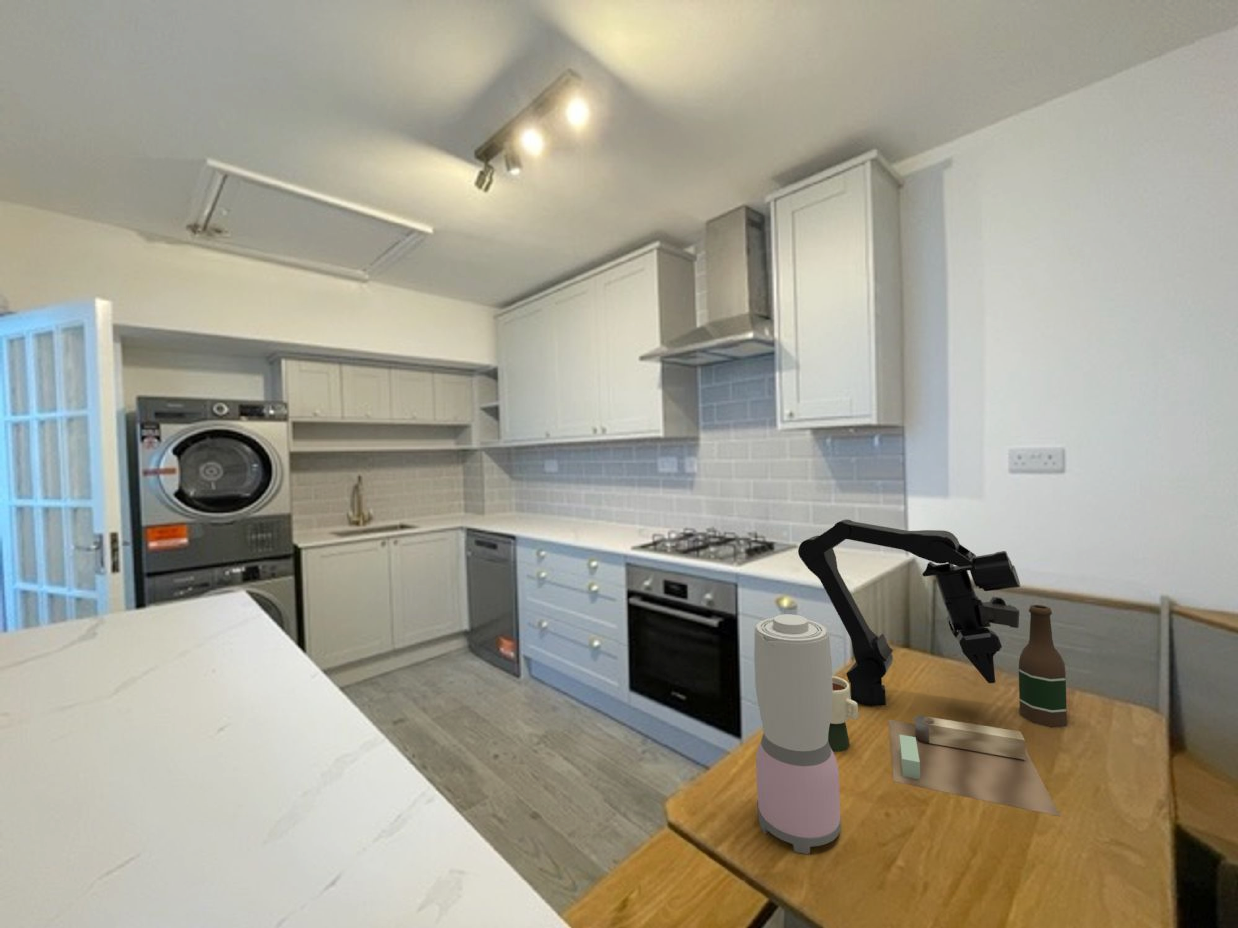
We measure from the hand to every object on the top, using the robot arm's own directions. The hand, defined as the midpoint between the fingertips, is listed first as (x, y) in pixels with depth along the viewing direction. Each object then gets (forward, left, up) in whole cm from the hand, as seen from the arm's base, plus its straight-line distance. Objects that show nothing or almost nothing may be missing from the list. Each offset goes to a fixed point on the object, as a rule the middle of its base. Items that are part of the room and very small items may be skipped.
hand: (986, 674), depth 99 cm
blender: (-30, -36, -13) cm, 49 cm away
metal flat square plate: (-6, -13, -12) cm, 19 cm away
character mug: (-27, -15, -13) cm, 34 cm away
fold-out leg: (-5, -8, -11) cm, 14 cm away
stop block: (-15, -17, -11) cm, 25 cm away
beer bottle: (+11, +9, -13) cm, 19 cm away
